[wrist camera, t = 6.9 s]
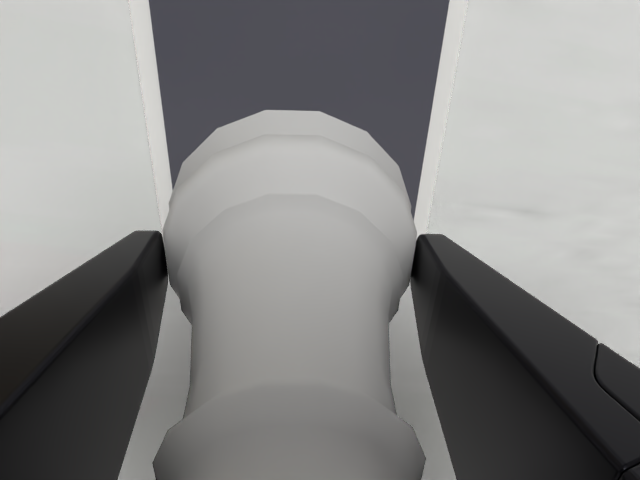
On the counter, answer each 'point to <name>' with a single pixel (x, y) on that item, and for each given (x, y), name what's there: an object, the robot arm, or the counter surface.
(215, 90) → the ink pad
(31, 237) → the counter surface
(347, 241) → the rook chess piece
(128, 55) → the counter surface
